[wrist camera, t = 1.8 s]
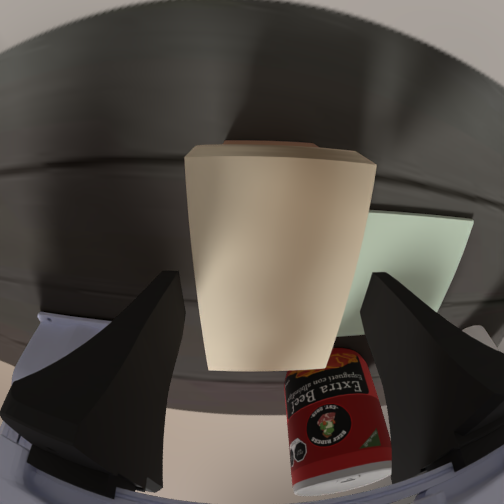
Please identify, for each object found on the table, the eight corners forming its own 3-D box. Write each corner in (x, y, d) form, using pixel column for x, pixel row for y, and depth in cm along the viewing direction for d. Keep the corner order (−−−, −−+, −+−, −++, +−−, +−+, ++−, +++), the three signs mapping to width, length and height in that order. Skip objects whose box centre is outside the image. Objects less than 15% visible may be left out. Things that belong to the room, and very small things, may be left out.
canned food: (358, 332, 21) (398, 461, 11) (370, 378, 24) (397, 475, 15) (268, 362, 22) (276, 490, 13) (298, 401, 26) (309, 498, 17)
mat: (307, 334, 20) (308, 338, 20) (330, 207, 15) (332, 210, 15) (427, 323, 21) (429, 326, 20) (470, 218, 15) (473, 221, 15)
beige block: (211, 340, 15) (208, 370, 13) (196, 145, 9) (184, 157, 8) (318, 339, 15) (325, 368, 13) (355, 151, 10) (376, 164, 8)
